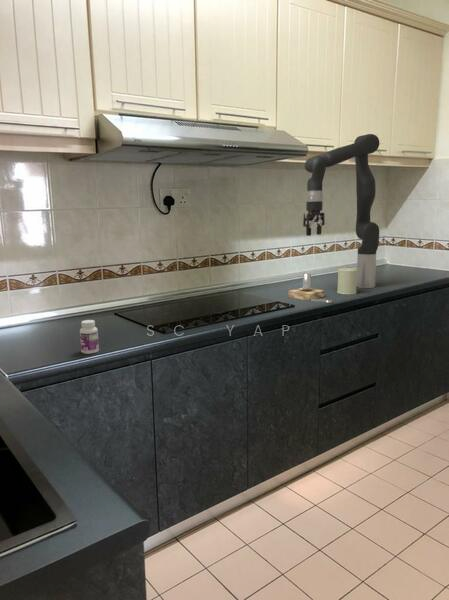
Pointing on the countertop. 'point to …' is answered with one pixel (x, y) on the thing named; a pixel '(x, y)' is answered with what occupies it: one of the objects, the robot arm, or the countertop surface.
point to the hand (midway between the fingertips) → (313, 235)
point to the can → (347, 281)
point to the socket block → (306, 294)
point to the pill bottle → (89, 337)
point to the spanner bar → (320, 300)
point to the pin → (306, 282)
